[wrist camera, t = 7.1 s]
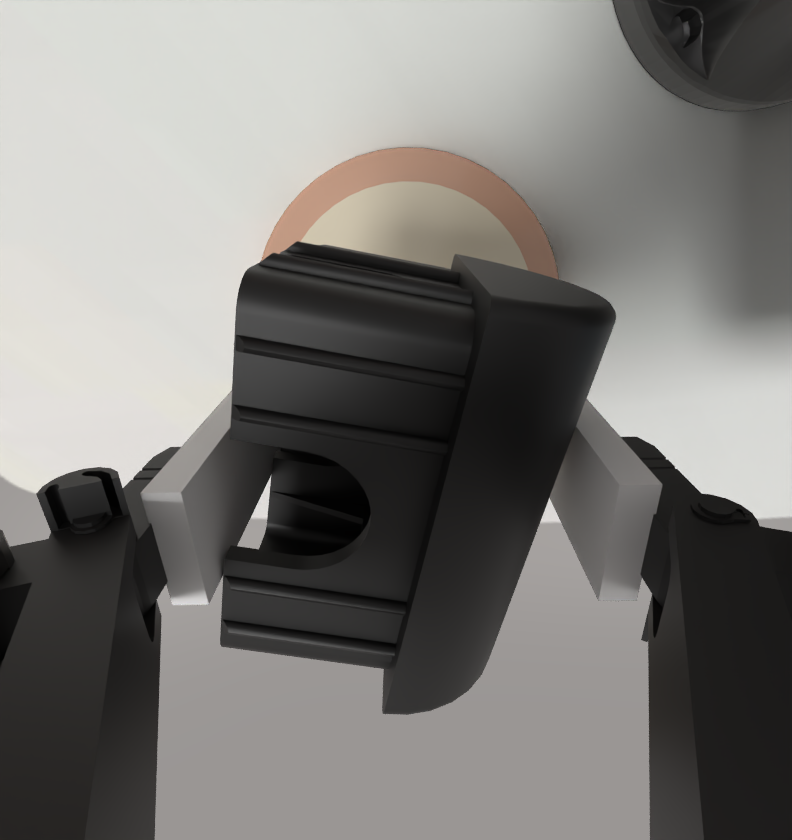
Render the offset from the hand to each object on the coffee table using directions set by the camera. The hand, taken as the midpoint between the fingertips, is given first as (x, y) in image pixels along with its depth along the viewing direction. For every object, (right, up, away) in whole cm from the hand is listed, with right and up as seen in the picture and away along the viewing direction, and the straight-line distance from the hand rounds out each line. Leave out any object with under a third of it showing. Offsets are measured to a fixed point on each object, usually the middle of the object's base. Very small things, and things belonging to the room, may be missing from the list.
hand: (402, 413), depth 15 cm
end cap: (0, 0, +1) cm, 1 cm away
